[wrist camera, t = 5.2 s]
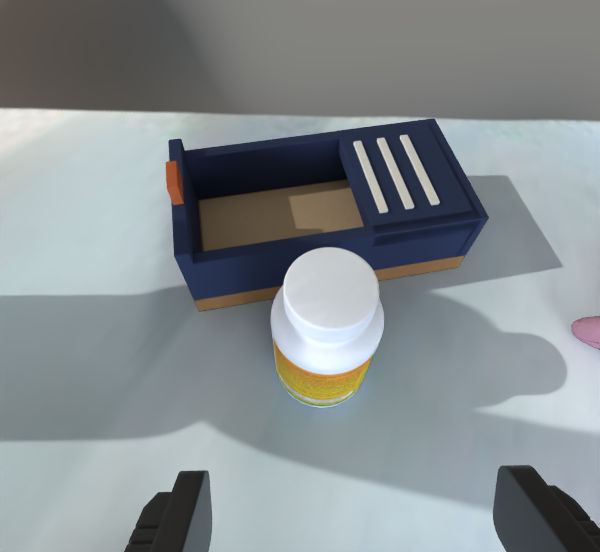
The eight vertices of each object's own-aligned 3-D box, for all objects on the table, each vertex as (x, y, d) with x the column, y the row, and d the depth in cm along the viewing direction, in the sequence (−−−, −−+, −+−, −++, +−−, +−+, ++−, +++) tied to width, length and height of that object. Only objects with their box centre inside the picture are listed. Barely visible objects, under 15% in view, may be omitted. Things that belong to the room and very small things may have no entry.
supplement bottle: (372, 404, 24) (412, 340, 16) (280, 414, 24) (271, 355, 15) (355, 320, 27) (382, 227, 19) (272, 328, 27) (261, 238, 18)
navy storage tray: (199, 311, 27) (166, 240, 20) (190, 207, 32) (162, 120, 25) (458, 267, 29) (507, 189, 22) (415, 175, 34) (445, 86, 27)
